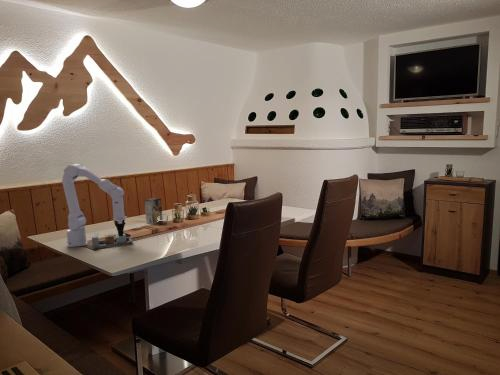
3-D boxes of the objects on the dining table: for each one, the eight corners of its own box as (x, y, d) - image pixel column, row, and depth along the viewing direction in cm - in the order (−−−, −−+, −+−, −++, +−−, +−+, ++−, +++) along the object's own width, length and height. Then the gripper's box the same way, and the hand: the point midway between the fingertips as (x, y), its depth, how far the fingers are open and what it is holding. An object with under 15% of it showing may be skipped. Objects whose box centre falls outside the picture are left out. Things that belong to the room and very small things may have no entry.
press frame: (92, 249, 202) (91, 238, 201) (93, 244, 212) (92, 233, 211) (132, 244, 209) (131, 233, 208) (131, 239, 219) (130, 229, 218)
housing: (105, 246, 207) (104, 236, 206) (105, 244, 211) (104, 235, 211) (114, 245, 209) (113, 235, 208) (114, 243, 213) (113, 233, 212)
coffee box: (156, 220, 266) (154, 197, 264) (162, 221, 262) (161, 198, 260) (146, 223, 258) (144, 199, 256) (152, 224, 255) (151, 200, 252)
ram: (116, 245, 208) (115, 229, 206) (116, 241, 215) (114, 226, 214) (126, 243, 209) (125, 228, 208) (125, 240, 217) (124, 225, 216)
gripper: (127, 211, 204) (129, 236, 206) (125, 206, 218) (127, 230, 220) (113, 212, 202) (115, 237, 204) (112, 207, 215) (114, 231, 217)
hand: (120, 233), depth 211 cm, fingers open, 5 cm apart
